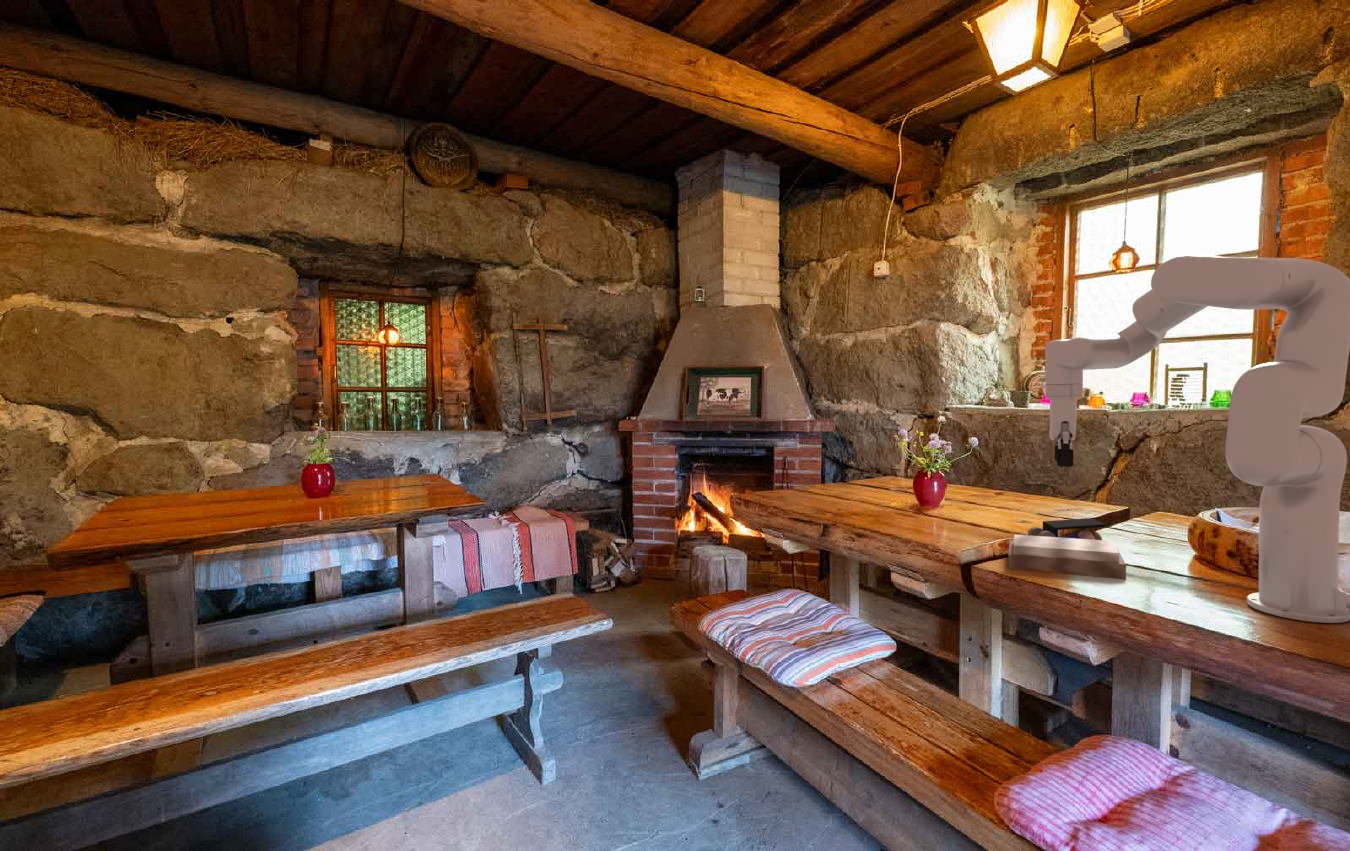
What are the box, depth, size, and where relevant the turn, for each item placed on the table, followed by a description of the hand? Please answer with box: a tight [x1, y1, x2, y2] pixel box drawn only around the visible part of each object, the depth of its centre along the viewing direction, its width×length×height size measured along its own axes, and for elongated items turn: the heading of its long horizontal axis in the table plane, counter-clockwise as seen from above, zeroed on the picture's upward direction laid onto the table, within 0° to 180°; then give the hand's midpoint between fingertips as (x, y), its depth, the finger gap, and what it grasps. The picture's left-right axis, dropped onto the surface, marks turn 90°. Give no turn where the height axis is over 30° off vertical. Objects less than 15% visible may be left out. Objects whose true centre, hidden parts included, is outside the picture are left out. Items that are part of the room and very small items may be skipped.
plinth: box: [1008, 534, 1127, 580], centre depth 136 cm, size 21×13×5 cm, turn 60°
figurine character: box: [1027, 517, 1107, 540], centre depth 148 cm, size 7×8×15 cm
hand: (1063, 463), depth 147 cm, fingers open, 9 cm apart
